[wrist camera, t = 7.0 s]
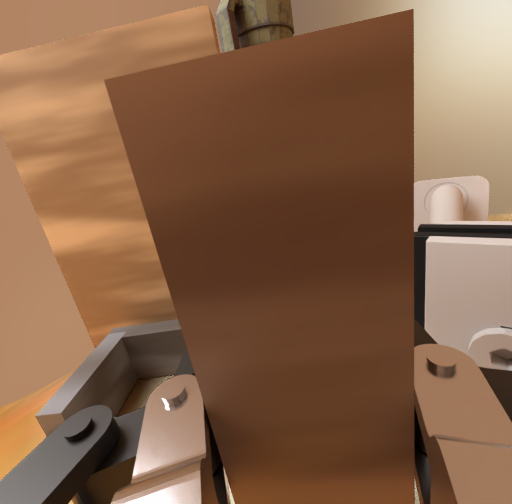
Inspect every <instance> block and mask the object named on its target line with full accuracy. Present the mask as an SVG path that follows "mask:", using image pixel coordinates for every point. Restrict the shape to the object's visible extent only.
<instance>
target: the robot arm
mask: <svg viewBox="0 0 512 504" xmlns="http://www.w3.org/2000/svg"><path fill="white" fill-rule="evenodd" d="M414 476H415V481H416V486H417V490H418V495H419V500H420V504H512V371H510V370H500V369H491V368H484V367H479V366H478V365H477V364H476V362H475V361H474V360H473V359H472V358H471V357H469V356H468V355H466V354H465V353H463V352H461V351H459V350H457V349H455V348H452V347H449V346H445V345H439V344H438V343H437V342H436V341H435V340H434V339H433V338H432V337H431V336H430V335H429V334H428V333H427V332H426V330H425V329H424V328H423V327H422V326H421V325H420V324H419V323H418V322H417V321H416V320H415V319H414ZM71 500H72V501H73V503H74V504H231V503H230V495H229V487H228V479H227V476H226V473H225V469H224V466H223V463H222V460H221V456H220V453H219V450H218V447H217V443H216V440H215V437H214V434H213V431H212V427H211V424H210V421H209V418H208V414H207V411H206V408H205V405H204V402H203V398H202V395H201V392H200V389H199V385H198V382H197V379H196V376H195V373H194V369H193V366H192V363H191V360H190V356H189V353H188V350H187V347H186V349H185V351H184V353H183V356H182V358H181V360H180V363H179V365H178V368H177V370H176V372H175V375H174V377H172V378H170V379H168V380H166V381H164V382H163V383H161V384H160V385H159V386H158V387H157V388H155V390H154V391H153V392H152V393H151V395H150V396H149V398H148V400H147V403H146V406H145V407H142V408H140V409H137V410H135V411H132V412H130V413H127V414H124V415H122V416H119V417H117V418H114V416H113V413H112V411H111V409H110V408H109V407H107V406H105V405H95V406H91V407H88V408H85V409H83V410H81V411H79V412H77V413H75V414H74V415H72V416H71V417H69V418H68V419H67V420H65V421H64V422H63V423H62V424H61V425H60V426H58V427H57V428H56V429H55V430H54V431H53V432H52V433H51V434H50V435H49V436H48V437H47V438H46V439H45V440H44V441H42V442H41V443H40V444H39V445H38V446H37V447H36V448H35V449H34V450H33V451H32V452H31V453H30V454H29V455H27V456H26V457H25V458H24V459H23V460H22V461H21V462H20V463H19V464H18V465H17V466H16V467H15V468H14V469H12V470H11V471H10V472H9V473H8V474H7V475H6V476H5V477H4V478H3V479H2V480H1V481H0V504H68V503H69V502H70V501H71Z"/></svg>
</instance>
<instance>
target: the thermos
mask: <svg viewBox="0 0 512 504" xmlns="http://www.w3.org/2000/svg"><path fill="white" fill-rule="evenodd" d="M216 20H217V25H218V31H219V37H220V42H221V47H222V53H223V52H228V51H232V50H236V49H241V48H245V47H249V46H254V45H258V44H263V43H267V42H271V41H276V40H280V39H284V38H289V37H293V34H294V27H293V18H292V9H291V1H290V0H220V4H219V5H218V9H217V13H216Z"/></svg>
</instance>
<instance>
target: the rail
mask: <svg viewBox="0 0 512 504" xmlns="http://www.w3.org/2000/svg"><path fill="white" fill-rule="evenodd" d="M413 24H414V23H413V9H411V10H407V11H403V12H398V13H394V14H389V15H385V16H381V17H376V18H372V19H368V20H363V21H359V22H355V23H350V24H346V25H341V26H337V27H333V28H328V29H324V30H319V31H315V32H311V33H306V34H302V35H298V36H294V37H289V38H284V39H280V40H276V41H271V42H267V43H263V44H258V45H254V46H249V47H245V48H241V49H236V50H232V51H228V52H223V53H219V54H214V55H210V56H206V57H201V58H197V59H193V60H188V61H184V62H179V63H175V64H171V65H166V66H162V67H158V68H153V69H149V70H144V71H140V72H136V73H131V74H127V75H123V76H118V77H114V78H109V79H105V80H104V82H105V86H106V89H107V92H108V95H109V98H110V102H111V105H112V108H113V111H114V115H115V118H116V121H117V124H118V127H119V131H120V134H121V137H122V140H123V144H124V147H125V150H126V153H127V156H128V160H129V163H130V166H131V169H132V173H133V176H134V179H135V182H136V186H137V189H138V192H139V195H140V198H141V202H142V205H143V208H144V211H145V215H146V218H147V221H148V224H149V227H150V231H151V234H152V237H153V240H154V244H155V247H156V250H157V253H158V256H159V260H160V263H161V266H162V269H163V273H164V276H165V279H166V282H167V285H168V289H169V292H170V295H171V298H172V302H173V305H174V308H175V311H176V315H177V318H178V321H179V324H180V327H181V331H182V334H183V337H184V340H185V344H186V347H187V350H188V353H189V356H190V360H191V363H192V366H193V369H194V373H195V376H196V379H197V382H198V385H199V389H200V392H201V395H202V398H203V402H204V405H205V408H206V411H207V414H208V418H209V421H210V424H211V427H212V431H213V434H214V437H215V440H216V443H217V447H218V450H219V453H220V456H221V460H222V463H223V466H224V469H225V473H226V476H227V479H228V482H229V485H230V489H231V492H232V495H233V498H234V502H235V504H415V491H414V61H413V60H414V58H413V56H414V55H413V54H414V38H413V37H414V35H413V33H414V32H413V31H414V29H413V27H414V25H413Z"/></svg>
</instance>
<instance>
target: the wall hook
mask: <svg viewBox="0 0 512 504" xmlns="http://www.w3.org/2000/svg"><path fill="white" fill-rule="evenodd" d="M488 204H489V183H488V181H487V180H486V179H485V178H483V177H481V176H464V177H454V178H444V179H434V180H424V181H418V182H416V183H414V232H418V226H419V225H420V224H440V223H441V222H442V221H488Z"/></svg>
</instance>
